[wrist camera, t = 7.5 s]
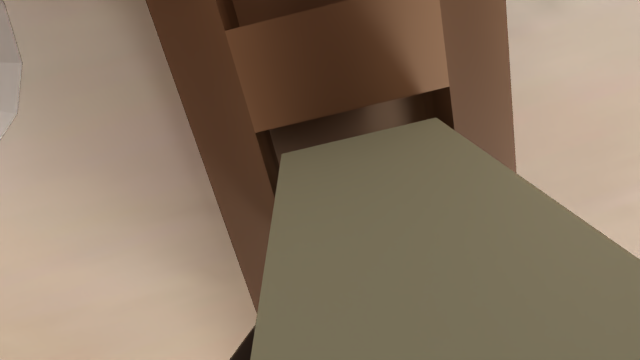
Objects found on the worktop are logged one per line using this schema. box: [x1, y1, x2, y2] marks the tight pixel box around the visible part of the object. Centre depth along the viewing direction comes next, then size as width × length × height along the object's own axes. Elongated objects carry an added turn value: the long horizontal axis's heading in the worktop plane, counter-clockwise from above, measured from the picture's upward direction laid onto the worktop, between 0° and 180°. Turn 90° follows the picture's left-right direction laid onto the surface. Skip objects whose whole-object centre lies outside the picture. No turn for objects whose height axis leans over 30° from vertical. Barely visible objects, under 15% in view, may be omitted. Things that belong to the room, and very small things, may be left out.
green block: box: [250, 118, 640, 360], centre depth 8 cm, size 4×4×10 cm
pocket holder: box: [146, 0, 516, 312], centre depth 13 cm, size 9×17×4 cm, turn 13°
